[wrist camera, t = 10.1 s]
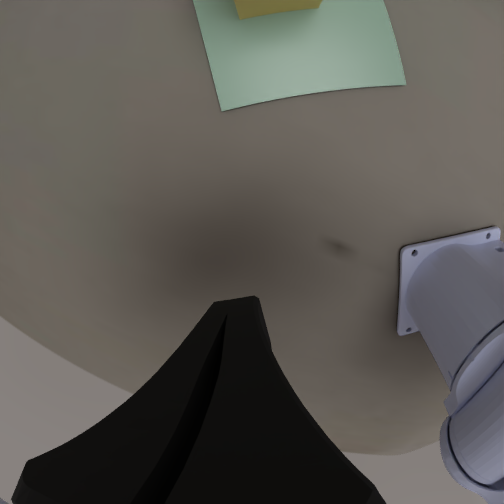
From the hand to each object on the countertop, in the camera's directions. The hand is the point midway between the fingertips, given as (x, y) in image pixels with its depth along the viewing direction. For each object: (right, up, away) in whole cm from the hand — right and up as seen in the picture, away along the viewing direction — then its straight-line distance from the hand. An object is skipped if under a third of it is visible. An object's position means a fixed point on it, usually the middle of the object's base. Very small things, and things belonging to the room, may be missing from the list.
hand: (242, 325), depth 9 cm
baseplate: (+3, +16, +4) cm, 17 cm away
